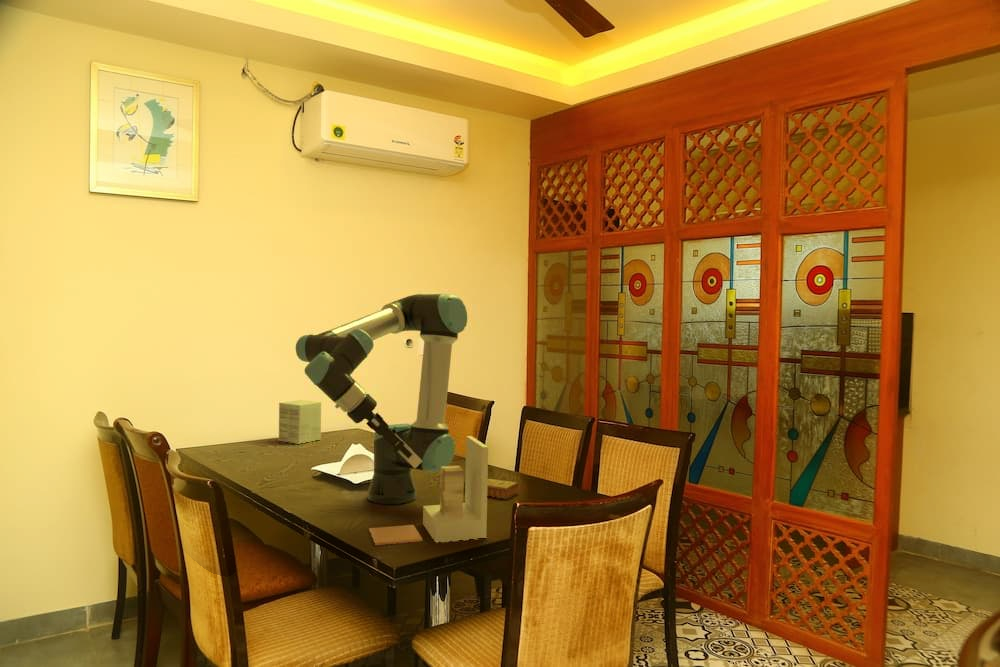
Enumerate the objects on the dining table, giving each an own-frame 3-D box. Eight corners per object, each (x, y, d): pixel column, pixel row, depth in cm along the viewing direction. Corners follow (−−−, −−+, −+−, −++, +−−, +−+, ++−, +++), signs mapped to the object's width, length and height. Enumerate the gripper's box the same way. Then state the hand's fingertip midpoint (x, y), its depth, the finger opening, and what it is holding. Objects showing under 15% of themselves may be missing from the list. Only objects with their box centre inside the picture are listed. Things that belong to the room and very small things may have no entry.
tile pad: (369, 530, 179) (369, 528, 179) (413, 526, 182) (413, 524, 182) (375, 545, 167) (375, 543, 167) (422, 541, 171) (422, 539, 171)
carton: (506, 501, 211) (506, 487, 211) (463, 493, 219) (463, 480, 219) (518, 494, 219) (518, 481, 218) (475, 488, 226) (475, 475, 226)
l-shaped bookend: (422, 523, 185) (424, 437, 185) (469, 520, 189) (471, 436, 189) (435, 542, 170) (437, 449, 169) (486, 538, 174) (488, 447, 174)
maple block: (439, 510, 181) (440, 466, 181) (457, 509, 183) (458, 465, 182) (444, 516, 176) (445, 471, 176) (462, 515, 178) (463, 470, 177)
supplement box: (300, 437, 308) (300, 399, 308) (321, 440, 302) (321, 402, 301) (277, 441, 297) (278, 402, 296) (299, 445, 290) (299, 405, 290)
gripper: (341, 406, 182) (395, 459, 187) (350, 421, 158) (412, 480, 163) (361, 387, 183) (414, 439, 188) (373, 398, 159) (433, 458, 165)
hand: (413, 458), depth 176 cm, fingers open, 13 cm apart
